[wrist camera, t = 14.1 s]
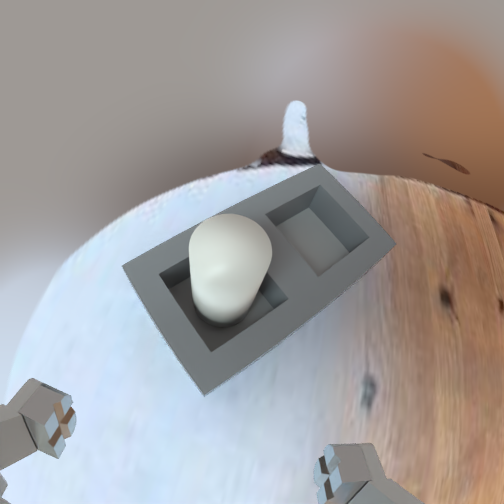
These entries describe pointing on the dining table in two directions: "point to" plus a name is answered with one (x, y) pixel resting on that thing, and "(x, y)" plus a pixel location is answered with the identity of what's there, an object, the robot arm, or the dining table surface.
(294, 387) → the dining table surface
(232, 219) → the plug
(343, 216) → the socket block
